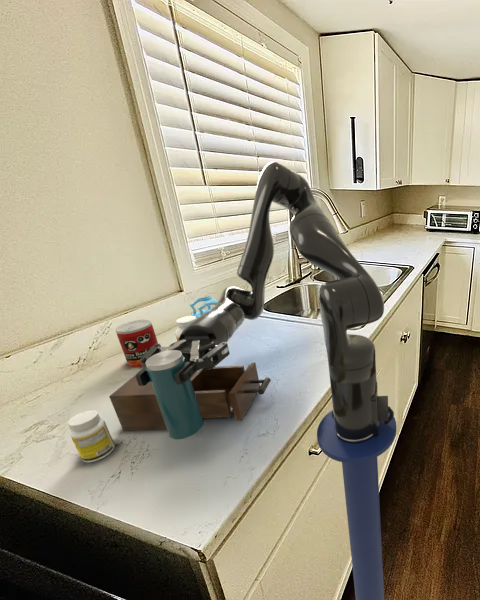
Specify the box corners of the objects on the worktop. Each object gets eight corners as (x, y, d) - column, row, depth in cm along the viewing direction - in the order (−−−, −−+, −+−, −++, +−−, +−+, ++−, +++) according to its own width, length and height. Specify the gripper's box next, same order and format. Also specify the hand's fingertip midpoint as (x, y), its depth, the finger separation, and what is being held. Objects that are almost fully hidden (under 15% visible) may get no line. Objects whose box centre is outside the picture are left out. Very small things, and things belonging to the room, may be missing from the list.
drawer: (278, 386, 79) (273, 362, 76) (261, 419, 68) (256, 392, 66) (207, 389, 78) (201, 364, 76) (179, 422, 67) (171, 395, 65)
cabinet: (219, 390, 79) (211, 359, 76) (190, 427, 67) (180, 393, 64) (161, 392, 78) (151, 361, 75) (122, 430, 67) (108, 396, 64)
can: (209, 417, 62) (189, 348, 56) (193, 439, 57) (170, 366, 51) (180, 418, 62) (157, 349, 56) (162, 440, 57) (135, 367, 51)
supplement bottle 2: (187, 356, 94) (175, 315, 90) (212, 352, 96) (202, 312, 91) (180, 368, 88) (168, 325, 84) (208, 364, 90) (197, 322, 85)
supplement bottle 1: (89, 447, 63) (73, 412, 60) (119, 440, 64) (104, 405, 61) (77, 466, 58) (59, 430, 55) (109, 458, 60) (93, 422, 57)
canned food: (122, 369, 88) (108, 333, 84) (137, 354, 95) (125, 320, 91) (153, 366, 89) (141, 330, 86) (166, 351, 97) (156, 318, 93)
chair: (192, 334, 107) (182, 300, 103) (216, 324, 114) (209, 292, 110) (204, 340, 103) (195, 305, 99) (229, 330, 110) (221, 297, 106)
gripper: (170, 317, 66) (104, 362, 51) (241, 315, 67) (198, 359, 51) (180, 349, 69) (120, 401, 54) (248, 346, 70) (209, 398, 54)
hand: (159, 380), depth 53 cm, fingers closed on can, 5 cm apart
